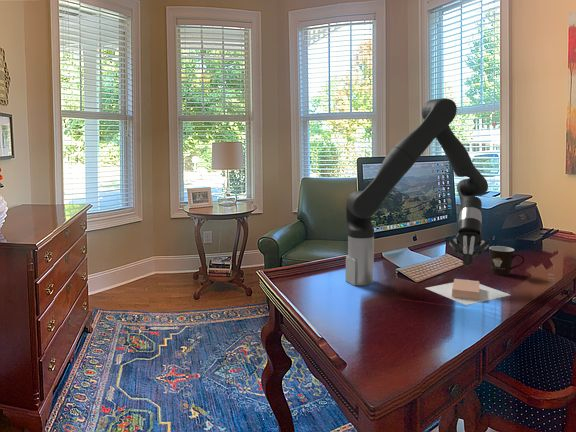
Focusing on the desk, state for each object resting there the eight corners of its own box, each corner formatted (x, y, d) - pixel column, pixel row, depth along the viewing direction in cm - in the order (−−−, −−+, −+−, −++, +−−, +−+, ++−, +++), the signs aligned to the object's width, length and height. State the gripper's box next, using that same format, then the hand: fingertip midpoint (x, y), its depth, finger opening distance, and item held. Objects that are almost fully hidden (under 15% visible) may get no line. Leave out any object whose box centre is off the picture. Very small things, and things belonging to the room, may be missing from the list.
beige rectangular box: (478, 288, 148) (478, 300, 137) (453, 286, 151) (451, 297, 140) (479, 281, 148) (479, 292, 137) (454, 278, 151) (452, 289, 140)
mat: (465, 306, 134) (465, 305, 134) (424, 289, 150) (424, 288, 150) (511, 296, 142) (511, 294, 142) (467, 281, 158) (467, 279, 158)
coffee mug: (482, 272, 168) (483, 247, 166) (499, 269, 171) (501, 245, 169) (507, 281, 157) (508, 254, 155) (524, 278, 160) (526, 251, 158)
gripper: (449, 216, 153) (445, 258, 144) (491, 218, 147) (489, 262, 138) (450, 228, 158) (446, 269, 149) (489, 230, 153) (488, 273, 144)
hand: (467, 265), depth 144 cm, fingers closed
